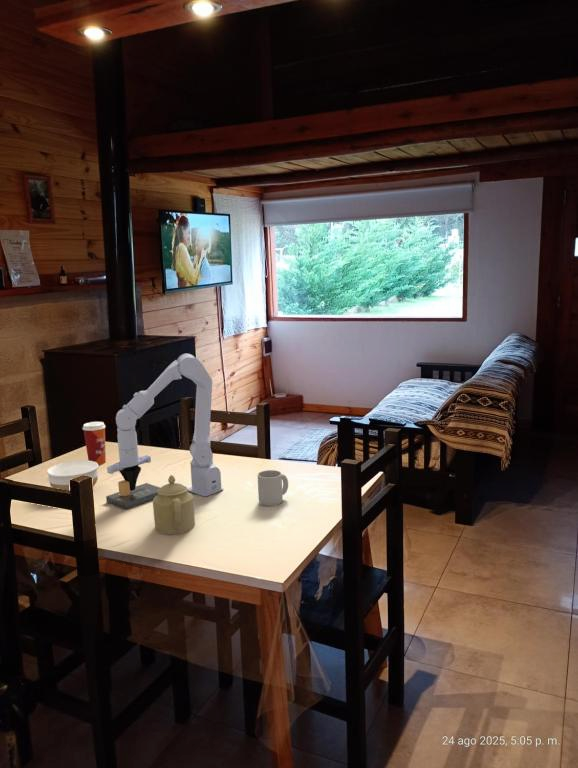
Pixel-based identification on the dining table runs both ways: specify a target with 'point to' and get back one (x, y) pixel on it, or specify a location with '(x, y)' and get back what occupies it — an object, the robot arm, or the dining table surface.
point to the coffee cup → (95, 441)
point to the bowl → (71, 472)
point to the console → (134, 496)
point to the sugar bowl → (173, 509)
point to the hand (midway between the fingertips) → (131, 489)
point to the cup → (271, 487)
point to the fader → (124, 488)
